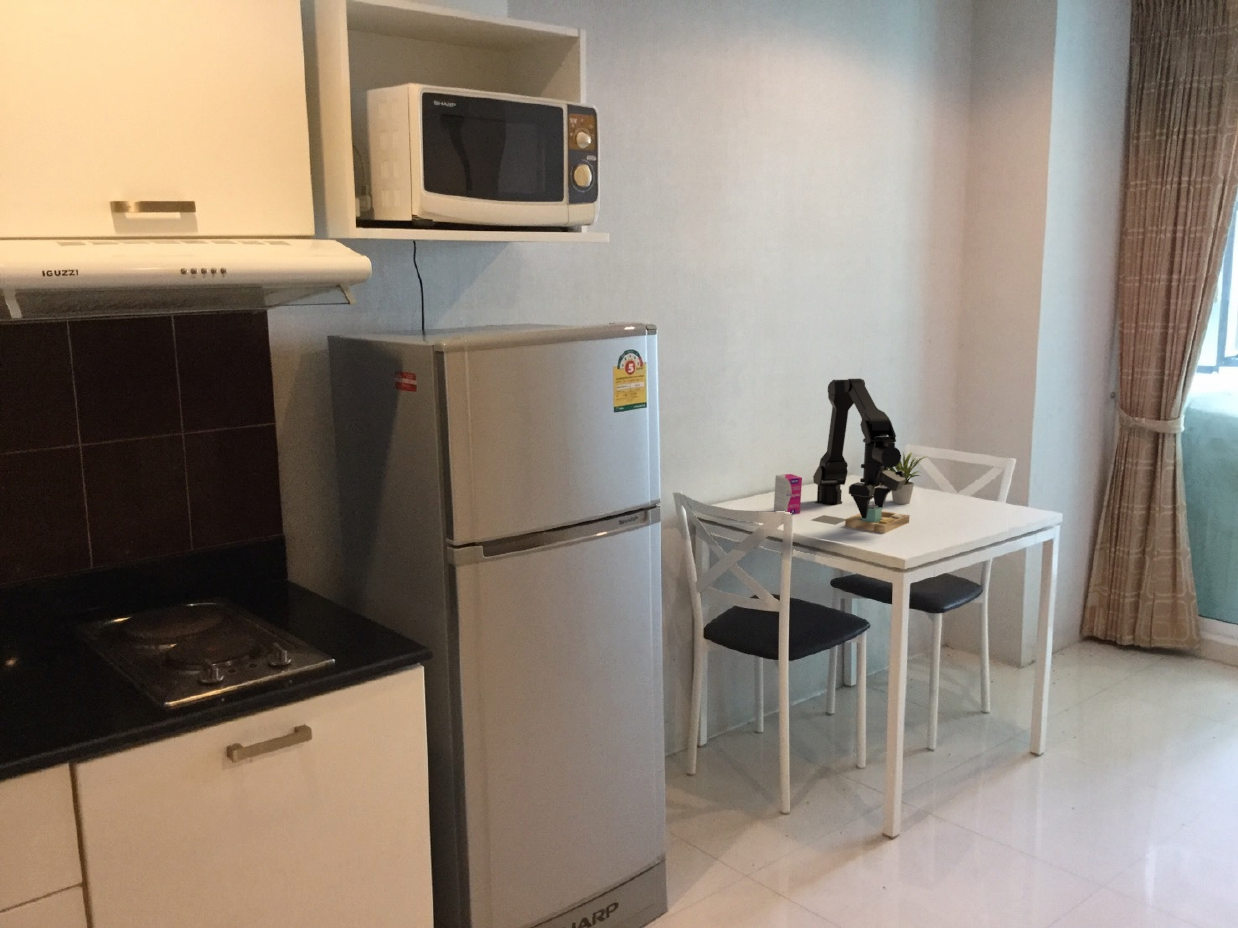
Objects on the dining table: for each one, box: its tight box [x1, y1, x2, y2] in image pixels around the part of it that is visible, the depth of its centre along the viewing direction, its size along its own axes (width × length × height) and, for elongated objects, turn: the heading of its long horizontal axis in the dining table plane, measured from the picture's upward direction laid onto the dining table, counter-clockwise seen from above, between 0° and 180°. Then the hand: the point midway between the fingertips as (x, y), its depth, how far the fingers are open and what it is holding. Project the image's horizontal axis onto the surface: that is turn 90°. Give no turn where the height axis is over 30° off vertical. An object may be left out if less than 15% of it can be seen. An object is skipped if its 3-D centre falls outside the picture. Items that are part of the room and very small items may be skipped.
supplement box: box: [773, 473, 803, 515], centre depth 316 cm, size 6×6×12 cm
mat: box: [811, 514, 846, 526], centre depth 309 cm, size 8×8×1 cm
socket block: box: [844, 510, 911, 534], centre depth 304 cm, size 12×16×3 cm
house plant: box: [888, 452, 927, 505], centre depth 333 cm, size 14×14×16 cm
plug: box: [862, 503, 883, 523], centre depth 300 cm, size 4×4×7 cm
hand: (871, 515), depth 300 cm, fingers open, 9 cm apart
